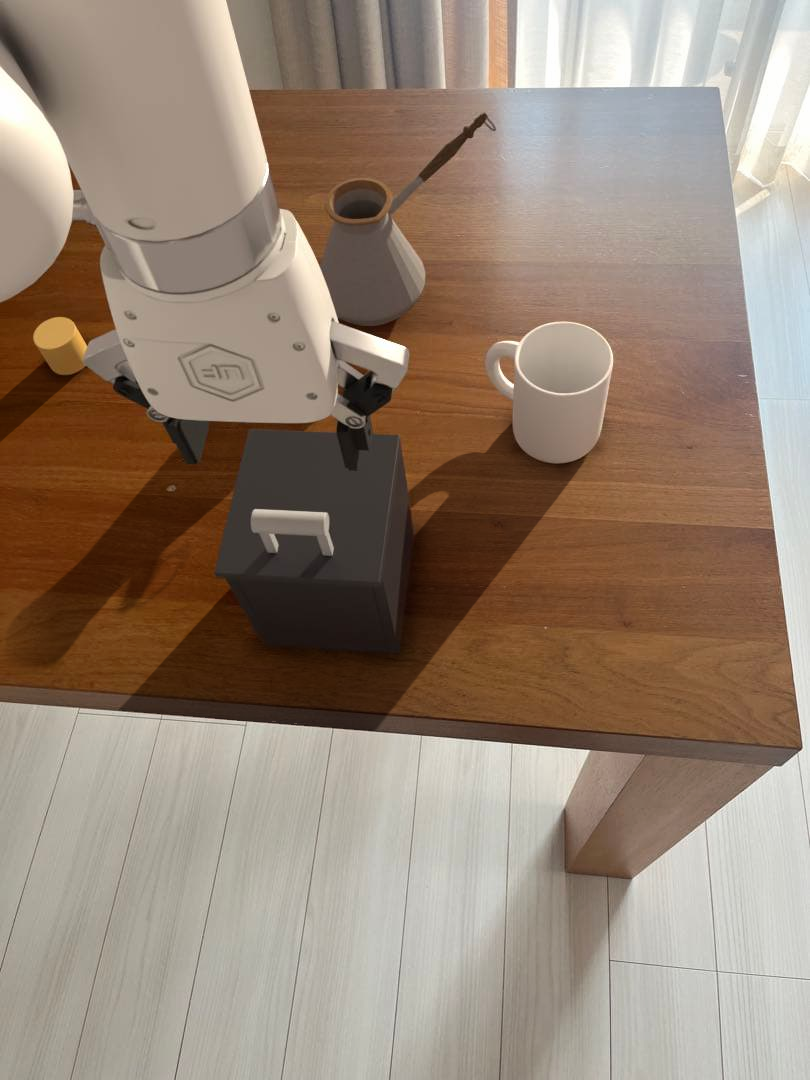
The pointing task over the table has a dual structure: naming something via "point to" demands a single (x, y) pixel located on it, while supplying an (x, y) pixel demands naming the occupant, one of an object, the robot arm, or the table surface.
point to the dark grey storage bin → (339, 598)
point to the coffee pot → (376, 245)
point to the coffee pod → (61, 345)
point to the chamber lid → (309, 510)
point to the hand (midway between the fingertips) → (276, 447)
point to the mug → (555, 388)
